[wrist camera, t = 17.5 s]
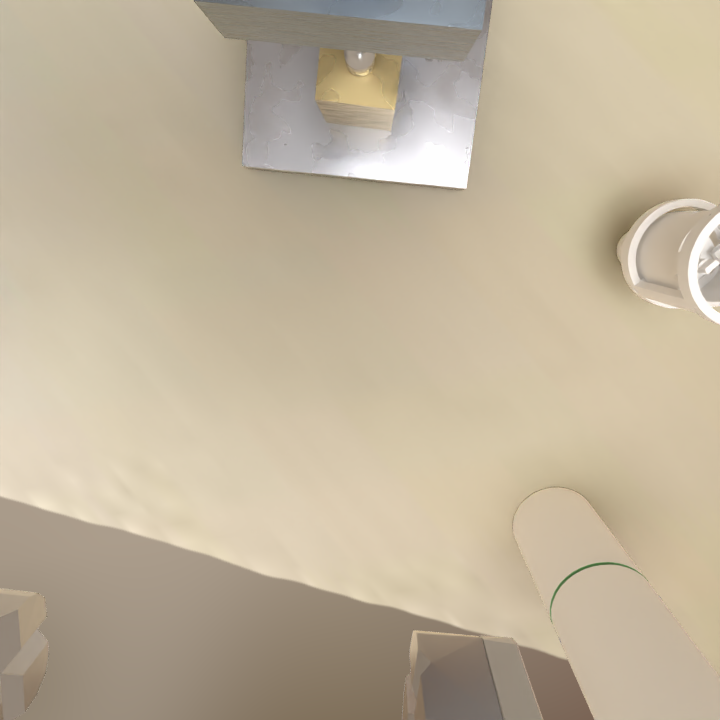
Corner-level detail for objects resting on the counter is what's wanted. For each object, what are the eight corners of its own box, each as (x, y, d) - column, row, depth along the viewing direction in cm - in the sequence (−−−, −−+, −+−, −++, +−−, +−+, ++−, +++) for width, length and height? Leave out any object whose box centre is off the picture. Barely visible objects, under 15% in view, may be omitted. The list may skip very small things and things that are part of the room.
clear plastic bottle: (628, 313, 44) (752, 360, 30) (571, 247, 43) (672, 264, 29) (702, 249, 43) (871, 267, 28) (645, 180, 42) (791, 162, 27)
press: (249, 168, 42) (66, 99, 17) (259, -44, 39) (46, -530, 13) (461, 190, 42) (591, 152, 17) (489, -21, 39) (708, -462, 13)
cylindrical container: (533, 572, 50) (682, 905, 26) (498, 509, 49) (622, 799, 25) (607, 538, 49) (835, 851, 25) (574, 473, 48) (781, 738, 24)
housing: (326, 122, 39) (312, 93, 30) (333, 51, 38) (321, -2, 29) (390, 130, 39) (396, 104, 30) (399, 60, 38) (408, 10, 29)
